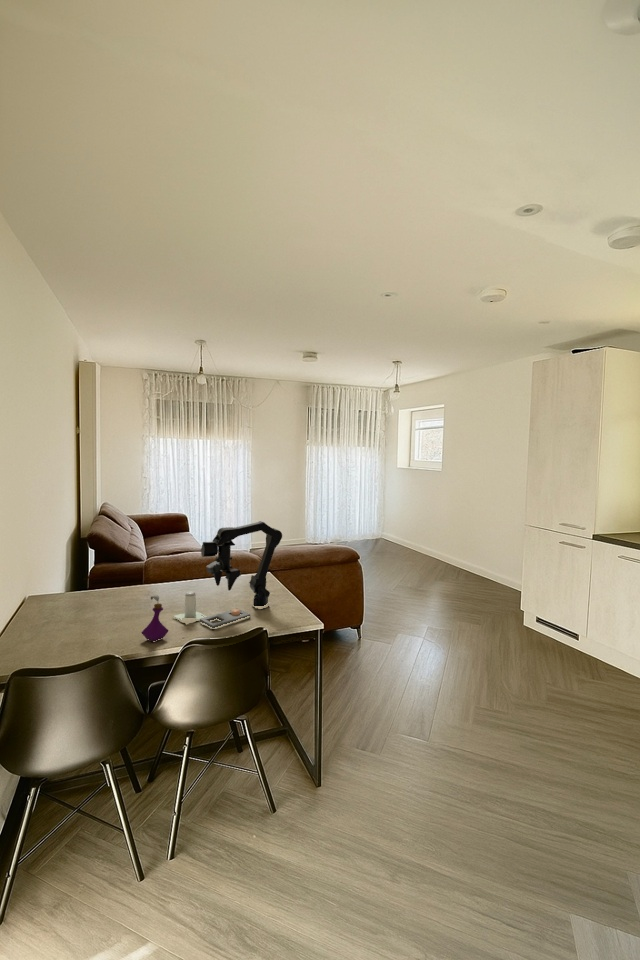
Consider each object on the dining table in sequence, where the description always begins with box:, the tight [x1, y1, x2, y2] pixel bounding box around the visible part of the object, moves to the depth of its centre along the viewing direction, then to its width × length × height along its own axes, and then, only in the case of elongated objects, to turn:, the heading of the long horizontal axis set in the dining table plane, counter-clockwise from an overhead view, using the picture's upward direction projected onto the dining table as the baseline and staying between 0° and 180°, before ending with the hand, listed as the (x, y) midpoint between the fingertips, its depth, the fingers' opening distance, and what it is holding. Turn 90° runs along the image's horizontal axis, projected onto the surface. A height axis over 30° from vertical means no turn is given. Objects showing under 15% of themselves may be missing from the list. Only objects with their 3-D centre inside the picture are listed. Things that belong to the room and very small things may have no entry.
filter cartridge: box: [184, 591, 197, 618], centre depth 203 cm, size 5×5×11 cm
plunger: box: [230, 608, 241, 616], centre depth 206 cm, size 4×4×3 cm
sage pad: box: [172, 610, 208, 620], centre depth 203 cm, size 11×11×1 cm
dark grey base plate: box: [199, 608, 251, 628], centre depth 202 cm, size 20×10×2 cm, turn 137°
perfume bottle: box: [141, 594, 169, 642], centre depth 180 cm, size 8×8×18 cm
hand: (223, 587), depth 211 cm, fingers open, 9 cm apart
